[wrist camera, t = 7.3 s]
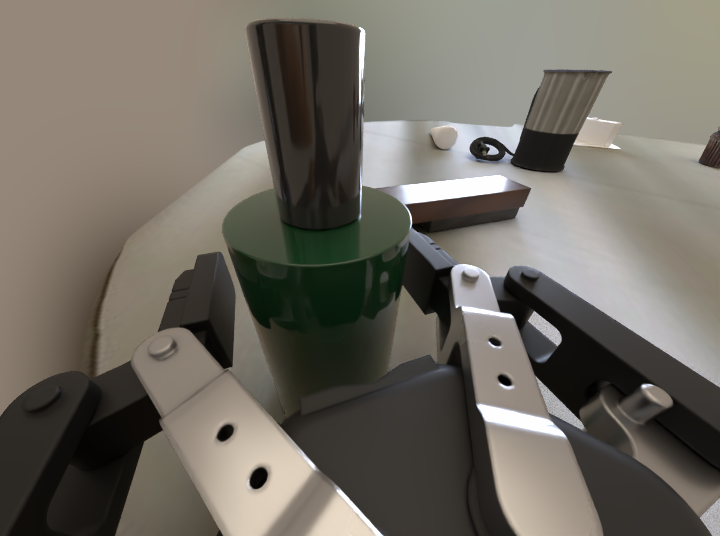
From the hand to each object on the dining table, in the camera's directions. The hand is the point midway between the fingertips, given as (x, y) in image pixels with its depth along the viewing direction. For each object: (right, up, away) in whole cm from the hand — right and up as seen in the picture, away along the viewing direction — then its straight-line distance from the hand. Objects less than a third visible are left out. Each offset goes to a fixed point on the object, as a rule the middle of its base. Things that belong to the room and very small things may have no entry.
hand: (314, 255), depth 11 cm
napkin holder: (+65, +35, +60) cm, 95 cm away
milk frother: (+33, +21, +40) cm, 56 cm away
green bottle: (+1, -7, +3) cm, 7 cm away
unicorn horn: (+22, +33, +57) cm, 69 cm away
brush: (+12, +5, +19) cm, 22 cm away
